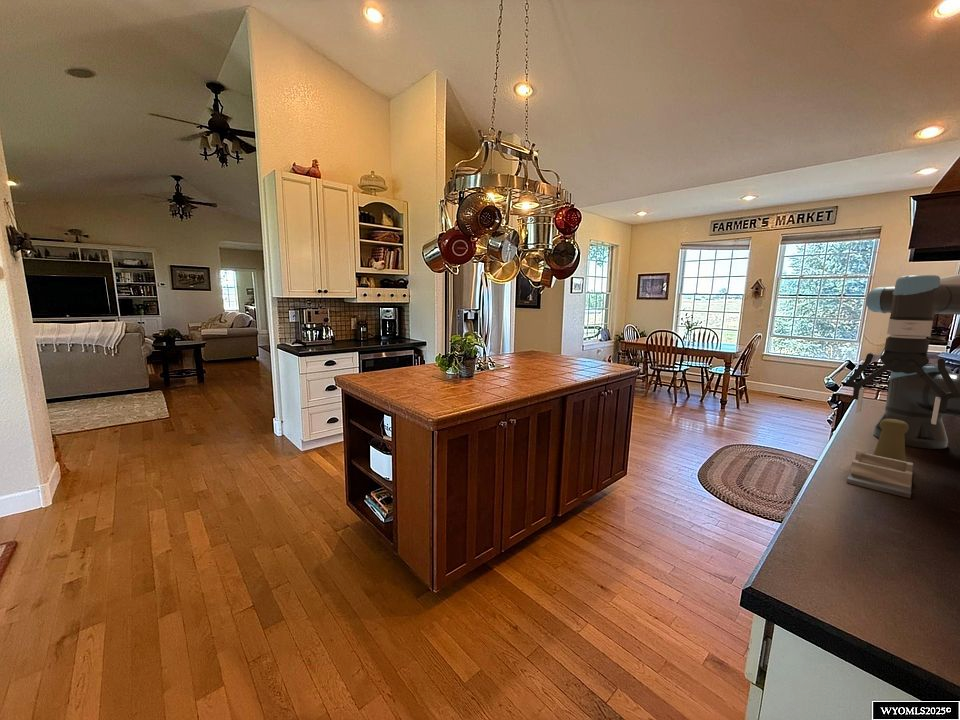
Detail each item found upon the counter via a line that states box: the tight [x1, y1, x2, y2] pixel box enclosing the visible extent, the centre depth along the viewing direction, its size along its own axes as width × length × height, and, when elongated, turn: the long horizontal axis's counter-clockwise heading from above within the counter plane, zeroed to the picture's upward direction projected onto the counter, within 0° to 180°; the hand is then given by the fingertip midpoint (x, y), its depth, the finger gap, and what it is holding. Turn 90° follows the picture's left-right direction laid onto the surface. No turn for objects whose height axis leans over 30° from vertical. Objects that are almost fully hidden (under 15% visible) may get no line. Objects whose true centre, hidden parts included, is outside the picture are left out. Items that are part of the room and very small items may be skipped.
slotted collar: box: [846, 451, 914, 499], centre depth 92 cm, size 18×10×4 cm, turn 131°
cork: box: [873, 419, 909, 461], centre depth 103 cm, size 6×6×11 cm
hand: (894, 417), depth 102 cm, fingers open, 13 cm apart
